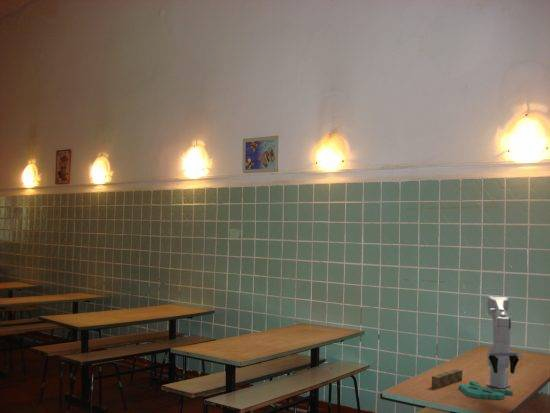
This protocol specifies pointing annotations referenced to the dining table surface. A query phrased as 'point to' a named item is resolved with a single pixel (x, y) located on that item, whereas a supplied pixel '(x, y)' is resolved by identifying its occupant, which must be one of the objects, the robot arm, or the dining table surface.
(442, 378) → the walnut board
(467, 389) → the alien figure
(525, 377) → the dining table surface
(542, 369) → the dining table surface
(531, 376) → the dining table surface
